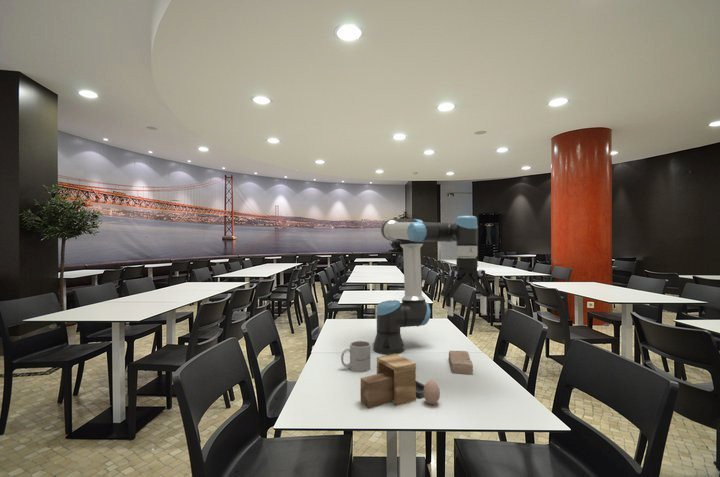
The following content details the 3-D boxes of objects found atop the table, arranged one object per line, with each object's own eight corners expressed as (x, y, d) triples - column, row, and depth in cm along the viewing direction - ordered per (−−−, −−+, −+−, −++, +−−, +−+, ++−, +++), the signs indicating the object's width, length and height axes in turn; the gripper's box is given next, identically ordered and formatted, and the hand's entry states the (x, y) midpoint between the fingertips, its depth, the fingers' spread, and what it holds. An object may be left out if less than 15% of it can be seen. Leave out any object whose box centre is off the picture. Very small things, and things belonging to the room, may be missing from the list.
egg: (440, 408, 105) (440, 384, 105) (423, 406, 106) (423, 383, 106) (439, 400, 110) (439, 377, 110) (423, 398, 111) (423, 376, 111)
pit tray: (398, 386, 121) (398, 381, 121) (411, 383, 124) (411, 378, 124) (418, 398, 111) (418, 393, 111) (432, 394, 114) (432, 389, 114)
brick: (473, 375, 132) (473, 363, 132) (451, 374, 133) (451, 362, 133) (467, 361, 148) (467, 350, 148) (448, 360, 149) (448, 349, 150)
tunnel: (376, 392, 116) (376, 357, 116) (395, 387, 120) (395, 353, 120) (396, 406, 106) (396, 367, 106) (415, 400, 110) (415, 363, 111)
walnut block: (360, 402, 109) (360, 378, 109) (397, 392, 117) (397, 369, 117) (368, 409, 105) (368, 383, 105) (406, 397, 112) (406, 374, 112)
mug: (369, 364, 143) (369, 340, 144) (371, 371, 135) (371, 346, 135) (340, 364, 142) (340, 341, 143) (341, 372, 134) (341, 347, 134)
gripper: (440, 258, 117) (441, 318, 117) (502, 257, 123) (503, 315, 123) (431, 257, 125) (431, 314, 124) (490, 256, 130) (490, 311, 130)
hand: (467, 314), depth 124 cm, fingers open, 13 cm apart
